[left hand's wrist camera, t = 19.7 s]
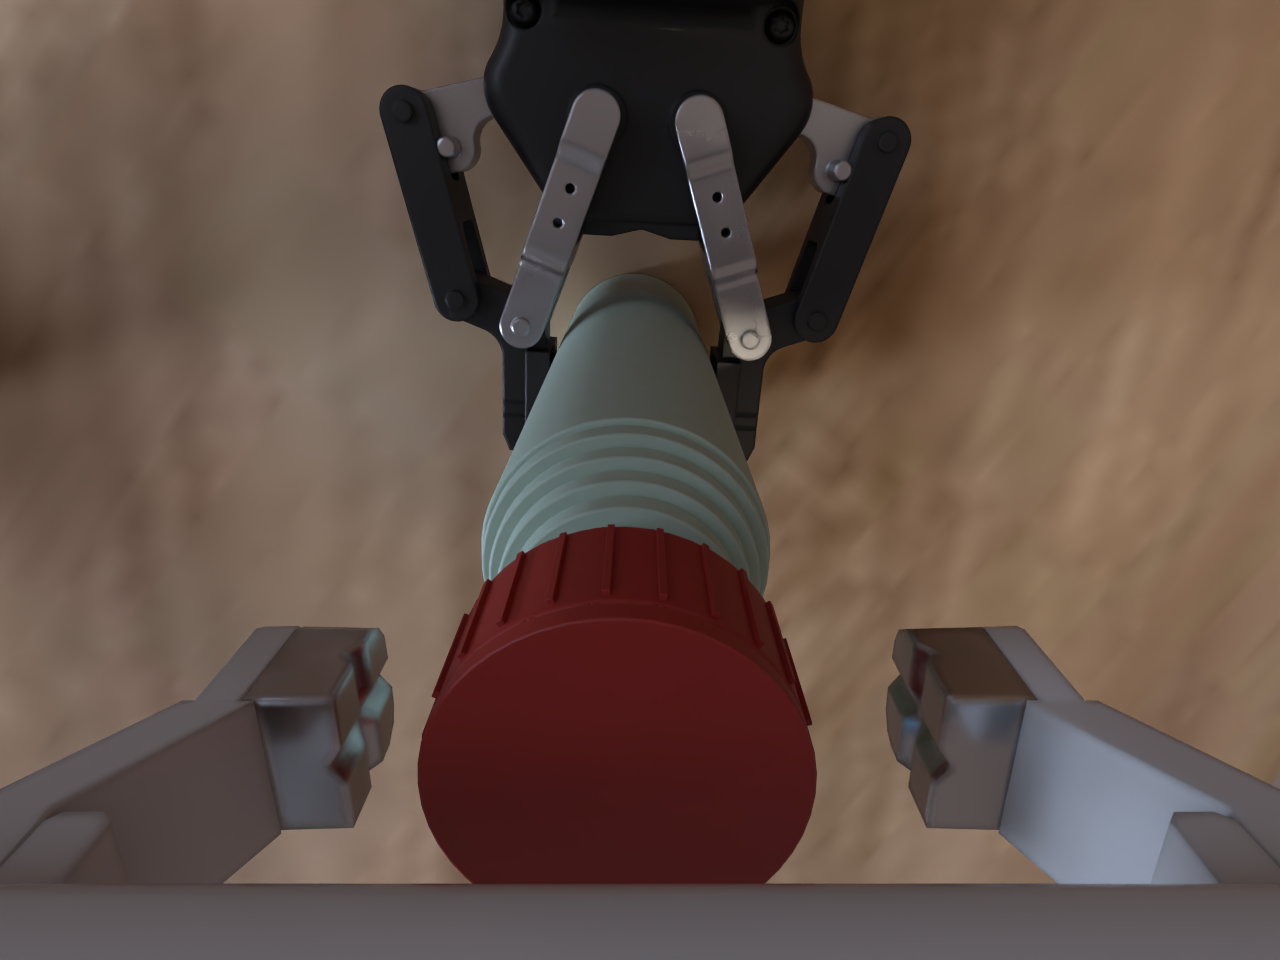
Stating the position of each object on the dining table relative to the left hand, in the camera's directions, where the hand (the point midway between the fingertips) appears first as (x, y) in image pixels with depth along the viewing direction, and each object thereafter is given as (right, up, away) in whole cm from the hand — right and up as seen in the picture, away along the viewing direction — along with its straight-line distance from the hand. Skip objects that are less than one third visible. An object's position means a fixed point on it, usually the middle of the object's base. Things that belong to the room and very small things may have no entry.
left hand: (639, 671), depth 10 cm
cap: (0, -1, -2) cm, 2 cm away
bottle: (0, +8, +19) cm, 21 cm away
